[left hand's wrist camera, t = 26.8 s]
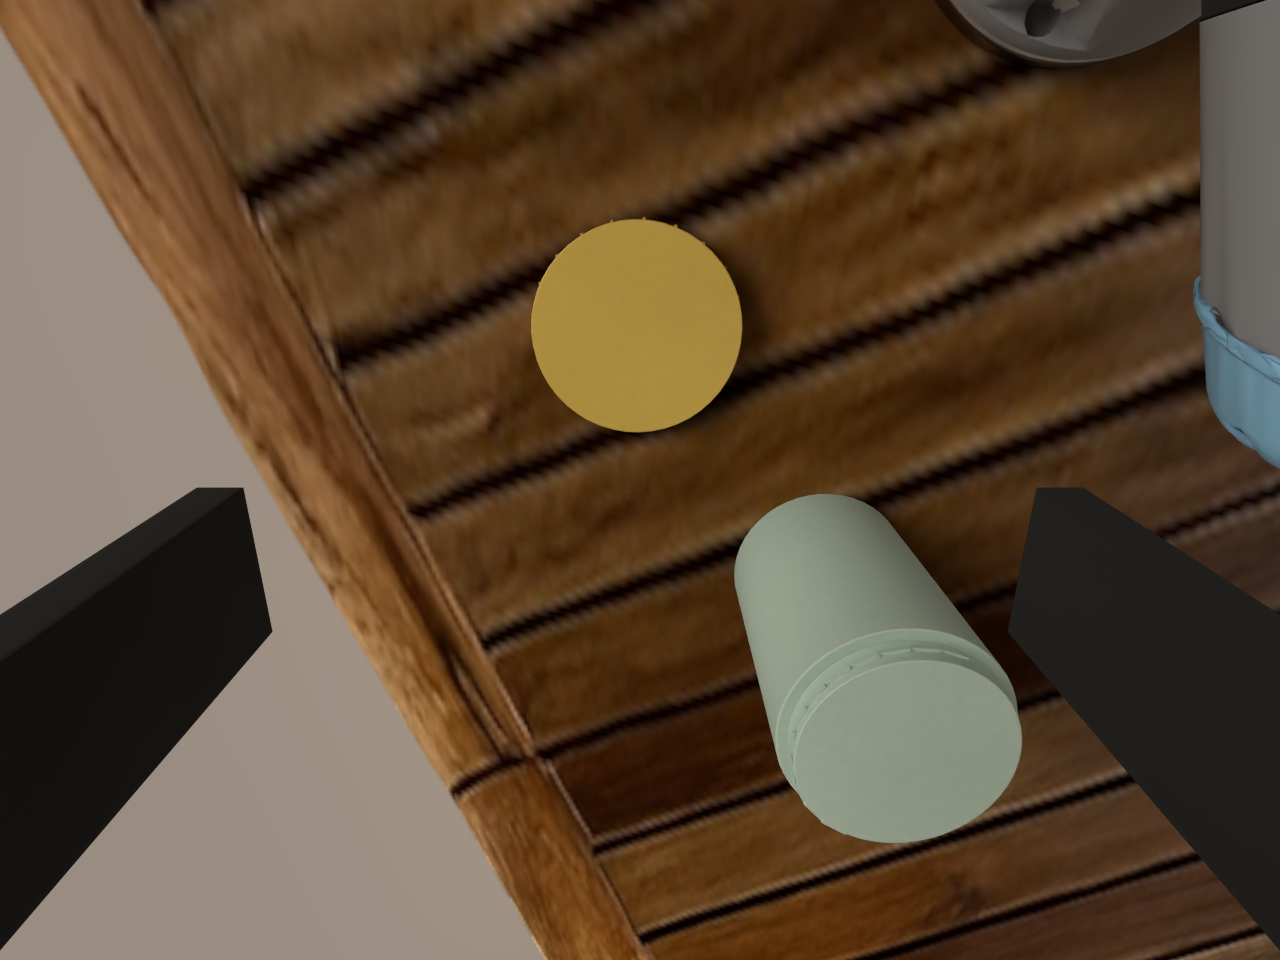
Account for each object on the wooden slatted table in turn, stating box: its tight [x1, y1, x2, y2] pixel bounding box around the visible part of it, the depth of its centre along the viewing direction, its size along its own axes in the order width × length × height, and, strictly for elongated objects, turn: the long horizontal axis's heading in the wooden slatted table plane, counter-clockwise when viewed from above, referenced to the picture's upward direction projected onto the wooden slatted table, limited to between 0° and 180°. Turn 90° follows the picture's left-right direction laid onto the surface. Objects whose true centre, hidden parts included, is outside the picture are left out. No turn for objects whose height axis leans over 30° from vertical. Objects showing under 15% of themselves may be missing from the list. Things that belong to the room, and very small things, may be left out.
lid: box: [531, 217, 743, 432], centre depth 36 cm, size 10×10×2 cm
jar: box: [734, 494, 1022, 843], centre depth 34 cm, size 9×9×15 cm
